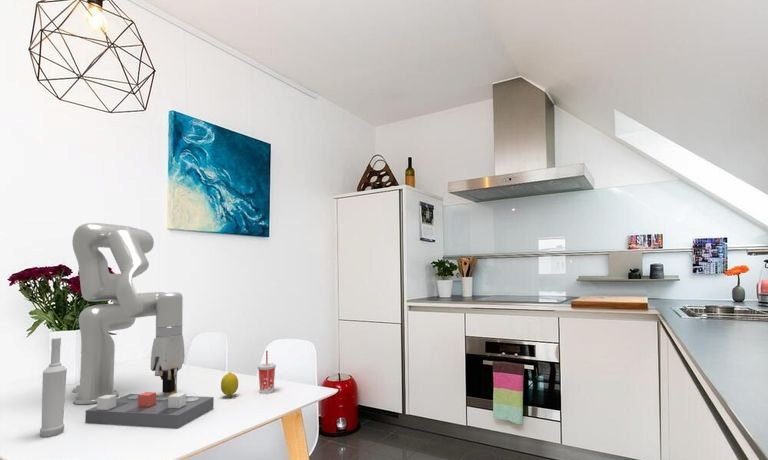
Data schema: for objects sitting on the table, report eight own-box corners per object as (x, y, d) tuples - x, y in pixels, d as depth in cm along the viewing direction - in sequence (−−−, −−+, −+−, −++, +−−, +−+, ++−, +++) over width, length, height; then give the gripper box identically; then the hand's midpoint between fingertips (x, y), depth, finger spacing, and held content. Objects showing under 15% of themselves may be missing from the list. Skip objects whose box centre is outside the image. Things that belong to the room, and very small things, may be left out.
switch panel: (85, 423, 119) (85, 409, 120) (130, 404, 135) (130, 392, 135) (177, 428, 113) (178, 413, 114) (213, 408, 129) (213, 396, 129)
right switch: (168, 407, 119) (168, 396, 120) (175, 404, 122) (175, 393, 122) (178, 408, 119) (179, 396, 119) (185, 404, 121) (186, 393, 122)
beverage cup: (274, 388, 150) (274, 348, 151) (276, 392, 144) (276, 351, 145) (257, 390, 147) (257, 349, 149) (258, 395, 142) (258, 353, 143)
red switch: (137, 406, 121) (138, 395, 122) (145, 403, 124) (146, 392, 124) (148, 406, 121) (148, 395, 121) (156, 403, 123) (156, 392, 124)
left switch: (96, 409, 119) (97, 397, 120) (105, 406, 122) (106, 394, 123) (107, 410, 119) (107, 398, 119) (116, 406, 122) (116, 395, 122)
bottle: (48, 430, 114) (52, 337, 116) (68, 429, 115) (72, 336, 117) (34, 438, 109) (39, 340, 111) (55, 437, 109) (59, 339, 112)
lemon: (232, 399, 138) (232, 374, 138) (217, 399, 139) (217, 374, 139) (241, 394, 143) (241, 370, 144) (226, 394, 144) (226, 370, 145)
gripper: (175, 328, 140) (174, 385, 139) (140, 335, 126) (139, 399, 124) (194, 328, 139) (194, 385, 137) (162, 335, 124) (161, 399, 123)
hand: (168, 391), depth 131 cm, fingers closed
